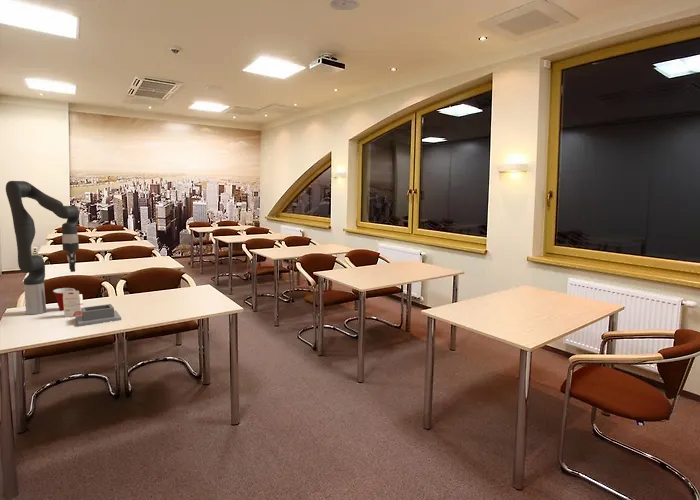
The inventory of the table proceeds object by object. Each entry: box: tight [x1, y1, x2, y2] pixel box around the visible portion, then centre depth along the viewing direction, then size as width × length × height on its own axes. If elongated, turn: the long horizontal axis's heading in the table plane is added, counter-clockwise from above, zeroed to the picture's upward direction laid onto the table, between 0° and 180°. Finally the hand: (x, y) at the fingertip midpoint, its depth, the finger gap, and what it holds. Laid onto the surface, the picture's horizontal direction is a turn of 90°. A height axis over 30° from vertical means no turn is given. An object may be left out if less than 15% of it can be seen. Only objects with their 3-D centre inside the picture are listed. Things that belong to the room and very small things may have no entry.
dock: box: [74, 303, 122, 327], centre depth 231 cm, size 20×17×6 cm
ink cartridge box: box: [63, 290, 84, 318], centre depth 237 cm, size 9×5×15 cm, turn 105°
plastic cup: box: [52, 287, 76, 311], centre depth 248 cm, size 11×11×12 cm
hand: (72, 270), depth 234 cm, fingers open, 8 cm apart
